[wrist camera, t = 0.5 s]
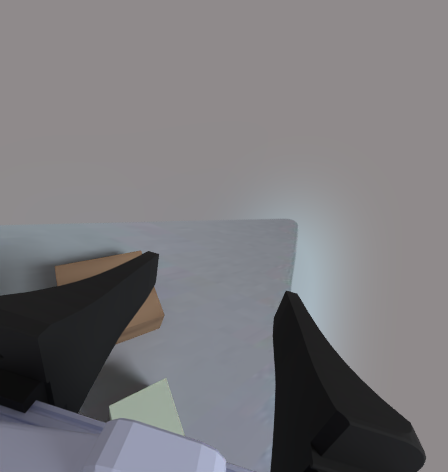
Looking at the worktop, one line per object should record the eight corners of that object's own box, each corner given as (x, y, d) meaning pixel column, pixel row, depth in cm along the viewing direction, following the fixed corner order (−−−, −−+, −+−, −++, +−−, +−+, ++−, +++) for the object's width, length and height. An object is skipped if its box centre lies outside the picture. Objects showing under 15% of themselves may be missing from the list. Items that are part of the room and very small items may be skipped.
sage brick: (171, 442, 22) (185, 438, 18) (121, 475, 20) (124, 479, 16) (156, 392, 24) (166, 377, 20) (109, 416, 22) (109, 406, 18)
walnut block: (159, 329, 29) (164, 315, 26) (70, 362, 24) (65, 349, 21) (138, 268, 33) (140, 250, 30) (60, 285, 28) (54, 266, 25)
